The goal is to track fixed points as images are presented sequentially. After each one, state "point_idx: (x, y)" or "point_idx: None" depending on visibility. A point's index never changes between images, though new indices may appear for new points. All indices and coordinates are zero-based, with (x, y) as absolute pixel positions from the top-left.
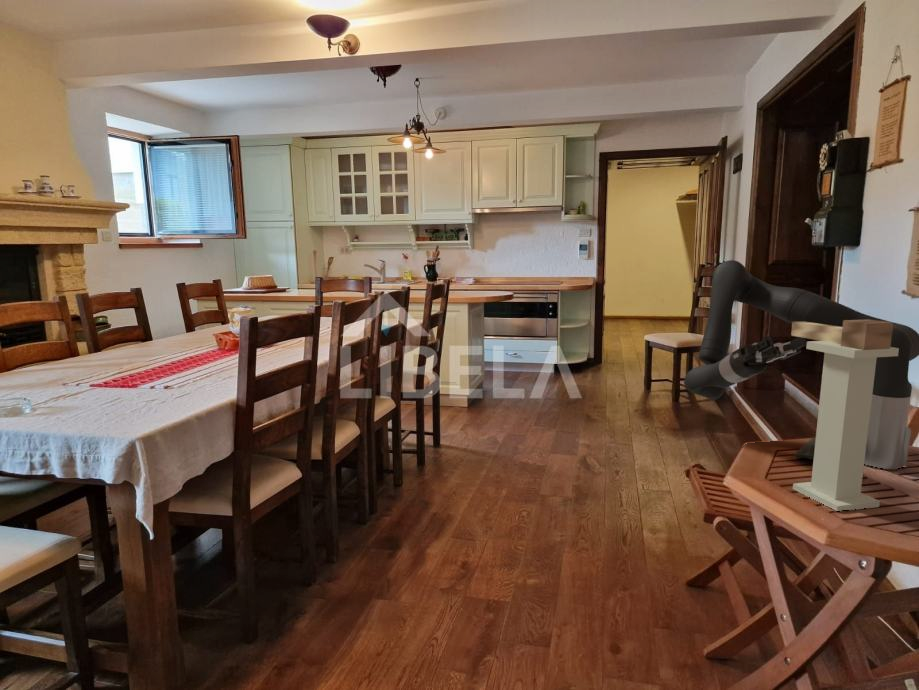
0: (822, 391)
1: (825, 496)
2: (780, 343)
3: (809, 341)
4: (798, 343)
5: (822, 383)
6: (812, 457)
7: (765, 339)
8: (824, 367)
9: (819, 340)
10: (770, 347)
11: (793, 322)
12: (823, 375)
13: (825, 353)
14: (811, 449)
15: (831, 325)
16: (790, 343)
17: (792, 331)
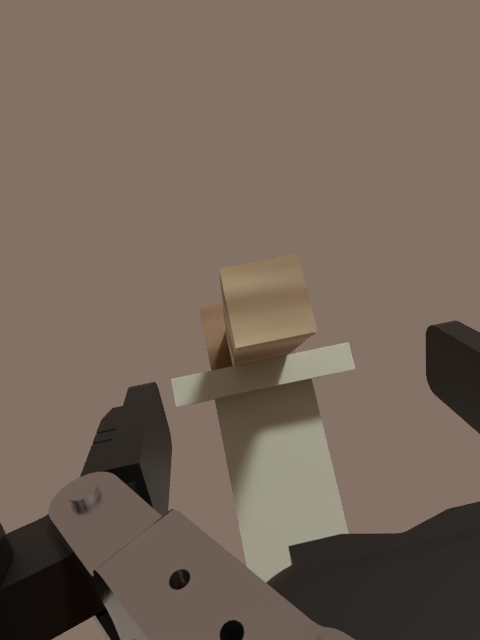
0: (343, 522)
1: None
2: (173, 522)
3: (338, 344)
4: (161, 449)
5: (337, 493)
6: None
7: (474, 334)
8: (323, 435)
9: (288, 353)
10: (453, 399)
11: (297, 258)
12: (330, 464)
13: (313, 388)
14: None
15: (223, 310)
16: (144, 483)
17: (310, 308)
